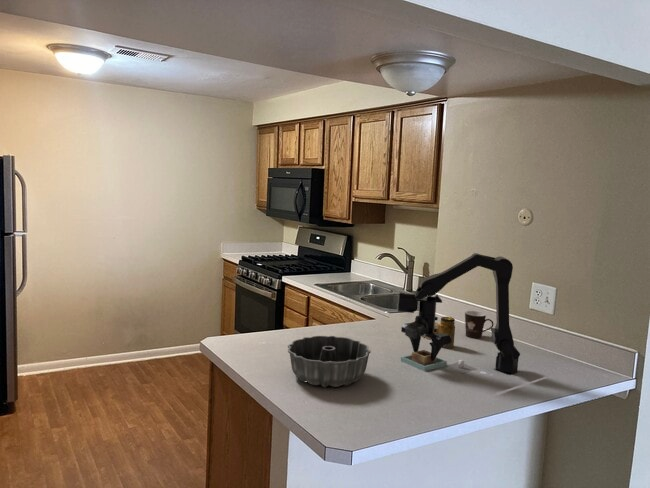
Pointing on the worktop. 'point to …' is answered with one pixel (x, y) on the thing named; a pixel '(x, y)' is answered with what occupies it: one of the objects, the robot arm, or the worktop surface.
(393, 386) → the worktop surface
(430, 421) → the worktop surface
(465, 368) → the gray plate with knob
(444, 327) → the condiment
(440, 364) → the tray
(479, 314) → the coffee mug
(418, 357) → the ring
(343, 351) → the bundt pan
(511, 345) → the robot arm
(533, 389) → the worktop surface
